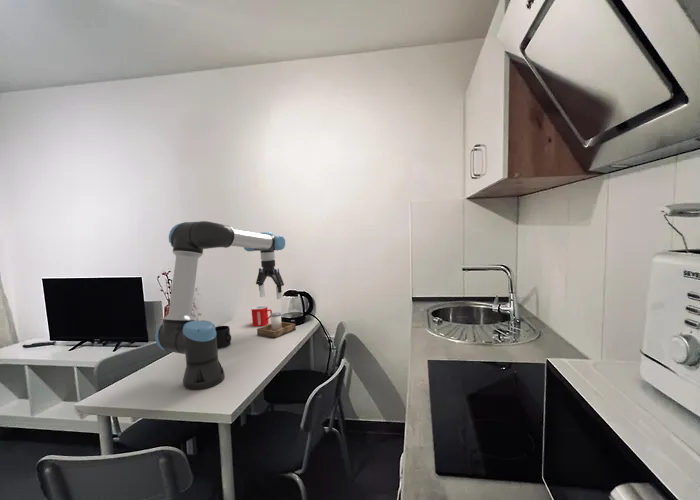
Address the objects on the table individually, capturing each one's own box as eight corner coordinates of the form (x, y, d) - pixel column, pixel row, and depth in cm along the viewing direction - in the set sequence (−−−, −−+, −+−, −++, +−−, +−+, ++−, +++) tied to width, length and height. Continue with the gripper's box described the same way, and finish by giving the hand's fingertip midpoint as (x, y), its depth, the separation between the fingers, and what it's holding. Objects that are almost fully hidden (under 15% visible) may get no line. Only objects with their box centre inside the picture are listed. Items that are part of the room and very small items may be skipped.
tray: (275, 338, 187) (274, 332, 187) (257, 334, 195) (256, 328, 195) (295, 329, 200) (295, 323, 200) (278, 326, 208) (278, 321, 208)
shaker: (276, 333, 194) (275, 315, 193) (269, 331, 197) (268, 314, 196) (284, 330, 198) (283, 313, 198) (276, 328, 202) (275, 312, 201)
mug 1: (224, 350, 174) (223, 332, 173) (207, 347, 179) (205, 330, 178) (238, 343, 182) (237, 326, 181) (221, 341, 187) (220, 325, 187)
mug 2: (251, 326, 213) (250, 309, 212) (257, 322, 221) (256, 306, 220) (269, 326, 210) (268, 309, 210) (275, 322, 218) (274, 305, 218)
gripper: (288, 259, 190) (291, 297, 192) (258, 258, 205) (261, 294, 206) (278, 260, 184) (281, 300, 186) (247, 260, 199) (250, 297, 200)
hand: (270, 297), depth 196 cm, fingers open, 13 cm apart
